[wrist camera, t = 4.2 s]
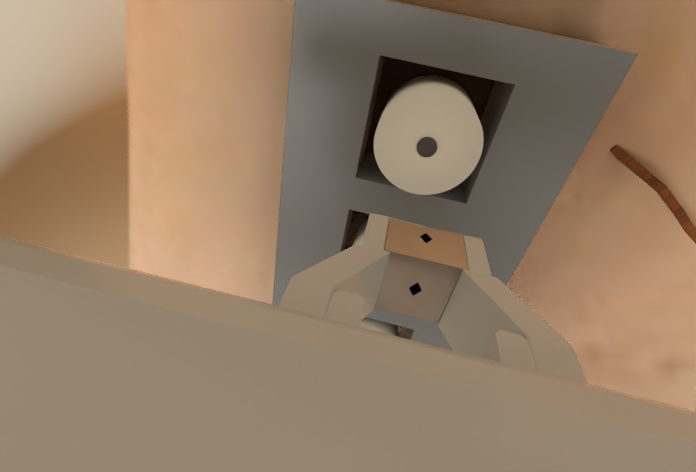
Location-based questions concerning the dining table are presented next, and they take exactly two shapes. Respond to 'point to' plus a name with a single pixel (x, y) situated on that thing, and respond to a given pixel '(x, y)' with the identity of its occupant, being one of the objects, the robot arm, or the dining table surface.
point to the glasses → (657, 190)
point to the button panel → (497, 122)
